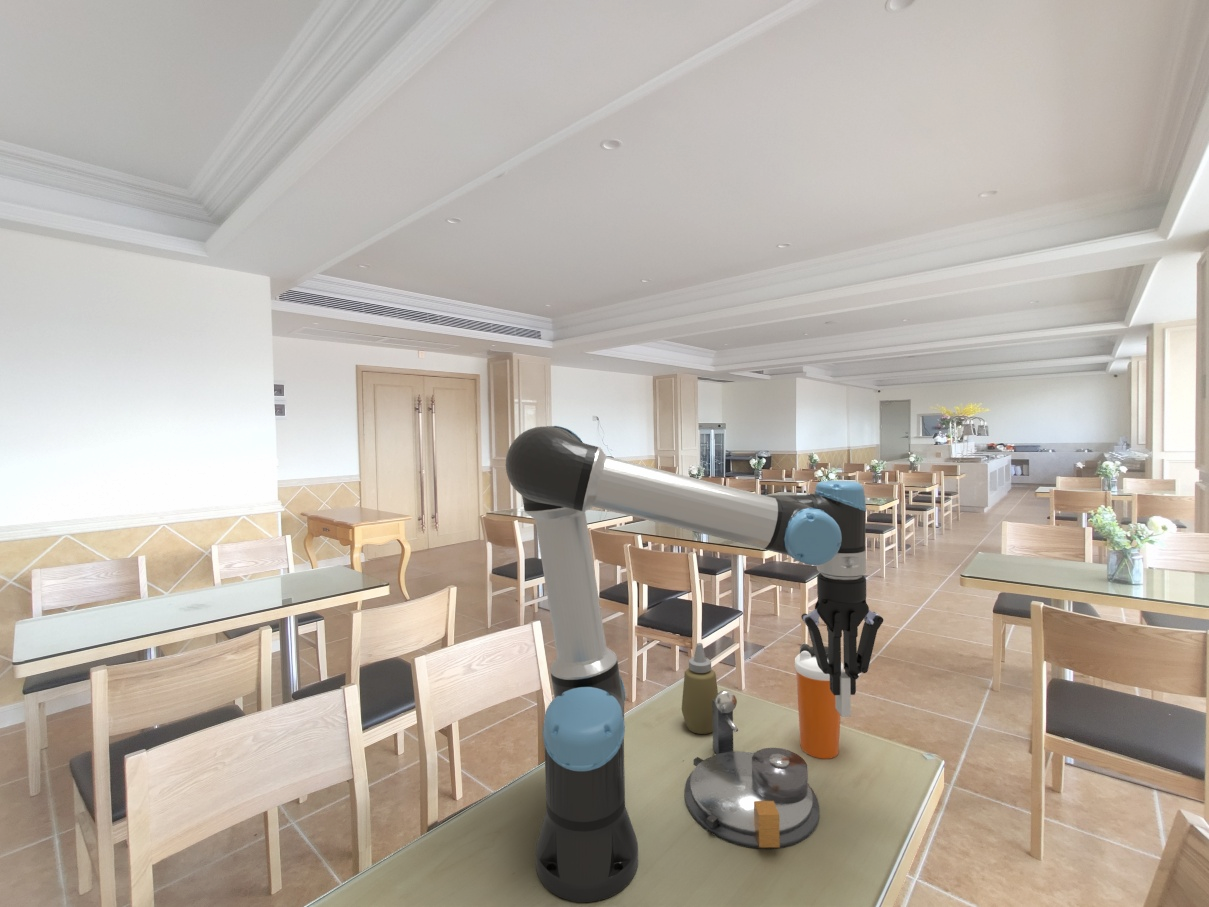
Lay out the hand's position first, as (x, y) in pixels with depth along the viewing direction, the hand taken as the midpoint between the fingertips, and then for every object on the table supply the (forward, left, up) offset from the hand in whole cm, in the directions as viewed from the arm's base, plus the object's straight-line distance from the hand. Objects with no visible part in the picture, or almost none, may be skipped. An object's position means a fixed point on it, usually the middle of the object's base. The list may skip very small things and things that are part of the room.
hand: (843, 712), depth 93 cm
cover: (-11, 0, -13) cm, 17 cm away
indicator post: (-17, +12, -15) cm, 26 cm away
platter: (-16, -1, -14) cm, 21 cm away
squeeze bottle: (-21, +23, -15) cm, 35 cm away
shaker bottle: (+1, +15, -15) cm, 21 cm away
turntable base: (-16, 0, -15) cm, 22 cm away
